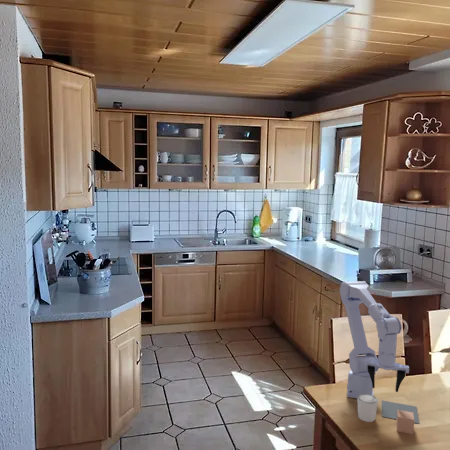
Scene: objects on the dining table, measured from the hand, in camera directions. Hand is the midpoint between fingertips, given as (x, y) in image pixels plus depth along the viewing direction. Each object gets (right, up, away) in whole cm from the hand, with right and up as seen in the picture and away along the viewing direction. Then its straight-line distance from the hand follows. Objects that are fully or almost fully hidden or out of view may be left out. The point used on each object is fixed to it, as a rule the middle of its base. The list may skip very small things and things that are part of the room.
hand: (384, 388), depth 152 cm
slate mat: (+6, -9, +3) cm, 12 cm away
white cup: (-7, -10, -1) cm, 12 cm away
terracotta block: (+4, -10, -8) cm, 14 cm away
